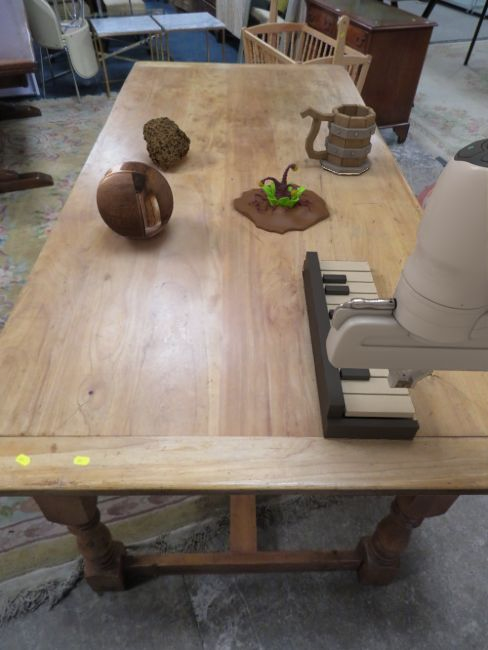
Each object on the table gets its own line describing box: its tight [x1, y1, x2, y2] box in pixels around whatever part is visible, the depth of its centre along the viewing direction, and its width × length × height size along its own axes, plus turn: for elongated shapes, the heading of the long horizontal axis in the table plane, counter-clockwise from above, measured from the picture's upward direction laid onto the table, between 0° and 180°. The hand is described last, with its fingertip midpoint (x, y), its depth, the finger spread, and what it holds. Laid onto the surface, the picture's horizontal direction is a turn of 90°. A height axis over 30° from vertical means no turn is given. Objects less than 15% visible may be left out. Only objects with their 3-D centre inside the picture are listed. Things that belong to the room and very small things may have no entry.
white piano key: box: [343, 394, 416, 419], centre depth 58 cm, size 9×3×1 cm, turn 89°
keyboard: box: [301, 250, 421, 441], centre depth 69 cm, size 12×36×6 cm, turn 179°
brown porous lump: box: [142, 116, 191, 171], centre depth 114 cm, size 11×13×15 cm
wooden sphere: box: [95, 160, 175, 240], centre depth 87 cm, size 15×15×15 cm
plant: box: [233, 163, 330, 235], centre depth 95 cm, size 20×20×11 cm
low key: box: [319, 260, 371, 272], centre depth 79 cm, size 9×3×1 cm, turn 89°
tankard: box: [299, 103, 377, 174], centre depth 112 cm, size 20×13×15 cm, turn 92°
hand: (399, 384), depth 54 cm, fingers closed
